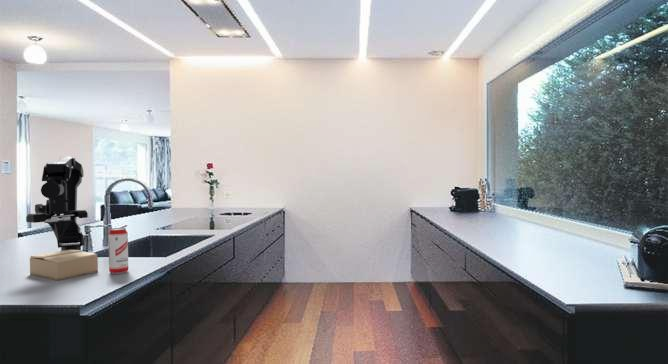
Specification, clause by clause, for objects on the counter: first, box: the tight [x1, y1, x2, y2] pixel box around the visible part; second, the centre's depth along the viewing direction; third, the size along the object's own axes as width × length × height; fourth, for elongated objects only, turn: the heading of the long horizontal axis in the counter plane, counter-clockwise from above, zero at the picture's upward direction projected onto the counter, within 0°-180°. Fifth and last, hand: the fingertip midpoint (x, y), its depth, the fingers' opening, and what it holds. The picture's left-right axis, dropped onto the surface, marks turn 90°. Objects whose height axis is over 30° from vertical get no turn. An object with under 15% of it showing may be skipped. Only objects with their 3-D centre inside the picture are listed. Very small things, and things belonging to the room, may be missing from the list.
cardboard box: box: [29, 255, 99, 281], centre depth 157 cm, size 14×18×6 cm
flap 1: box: [29, 249, 84, 258], centre depth 159 cm, size 14×9×1 cm, turn 150°
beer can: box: [107, 227, 129, 275], centre depth 157 cm, size 6×6×16 cm
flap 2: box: [44, 251, 98, 263], centre depth 155 cm, size 14×9×1 cm, turn 150°
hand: (58, 239), depth 158 cm, fingers closed
